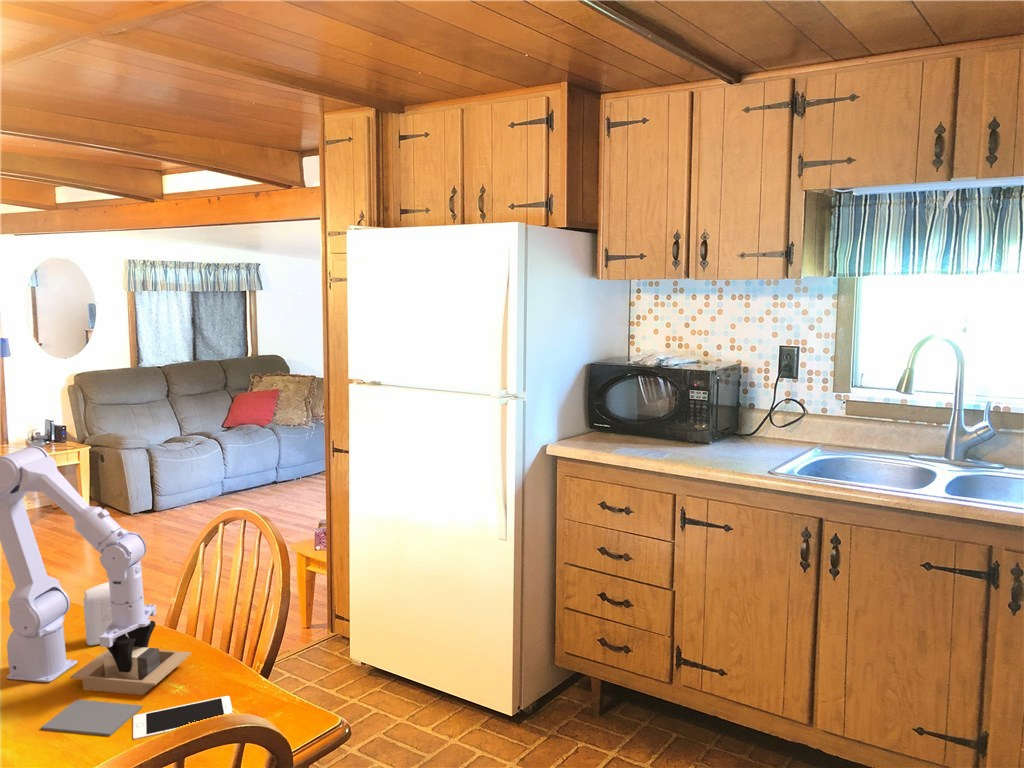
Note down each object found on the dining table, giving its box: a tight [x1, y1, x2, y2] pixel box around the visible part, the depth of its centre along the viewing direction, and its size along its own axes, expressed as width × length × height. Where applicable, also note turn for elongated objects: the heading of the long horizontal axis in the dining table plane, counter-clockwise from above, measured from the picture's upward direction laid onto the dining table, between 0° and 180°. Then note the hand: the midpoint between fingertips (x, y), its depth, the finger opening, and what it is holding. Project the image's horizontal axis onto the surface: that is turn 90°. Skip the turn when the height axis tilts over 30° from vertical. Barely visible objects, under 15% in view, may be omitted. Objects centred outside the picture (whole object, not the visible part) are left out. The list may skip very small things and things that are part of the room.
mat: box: [40, 699, 143, 737], centre depth 143 cm, size 13×9×1 cm
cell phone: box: [132, 695, 234, 740], centre depth 144 cm, size 8×16×1 cm, turn 114°
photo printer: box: [83, 581, 129, 646], centre depth 173 cm, size 10×4×12 cm, turn 123°
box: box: [103, 646, 161, 680], centre depth 157 cm, size 9×4×4 cm, turn 81°
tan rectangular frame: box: [70, 649, 192, 696], centre depth 158 cm, size 17×12×2 cm
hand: (132, 665), depth 157 cm, fingers closed on box, 4 cm apart
